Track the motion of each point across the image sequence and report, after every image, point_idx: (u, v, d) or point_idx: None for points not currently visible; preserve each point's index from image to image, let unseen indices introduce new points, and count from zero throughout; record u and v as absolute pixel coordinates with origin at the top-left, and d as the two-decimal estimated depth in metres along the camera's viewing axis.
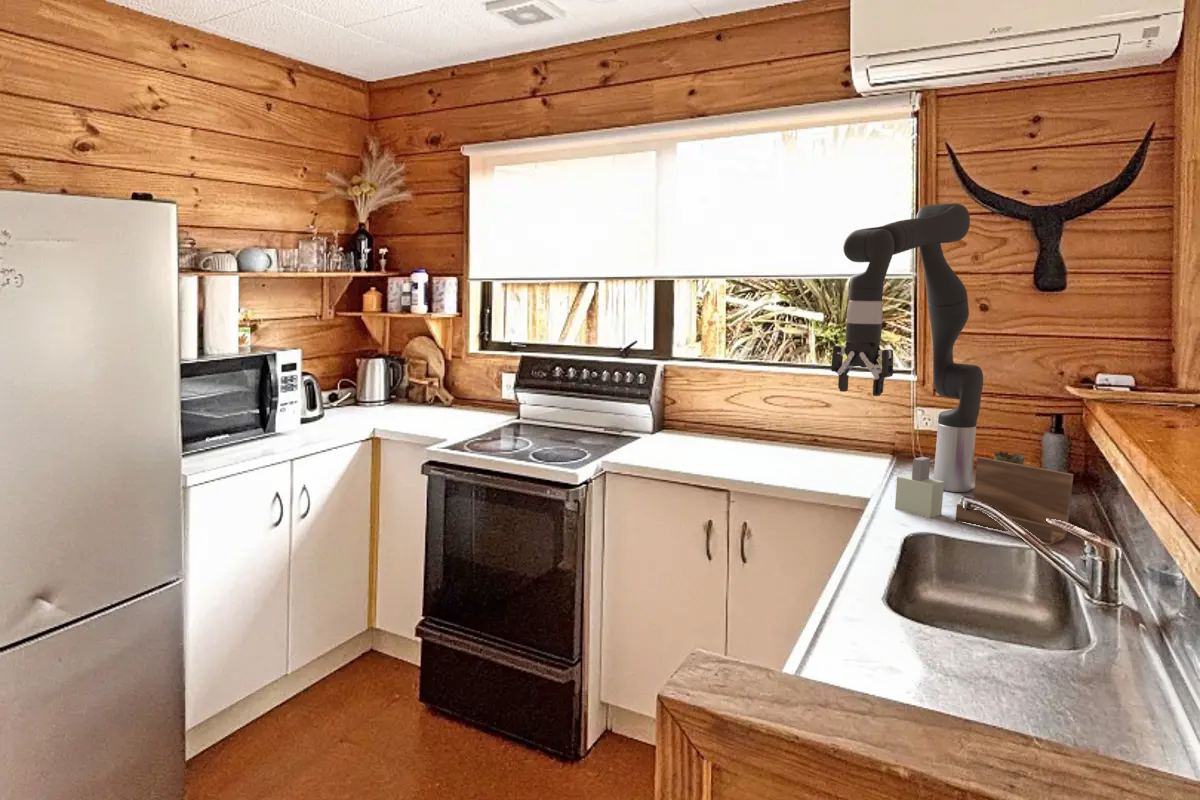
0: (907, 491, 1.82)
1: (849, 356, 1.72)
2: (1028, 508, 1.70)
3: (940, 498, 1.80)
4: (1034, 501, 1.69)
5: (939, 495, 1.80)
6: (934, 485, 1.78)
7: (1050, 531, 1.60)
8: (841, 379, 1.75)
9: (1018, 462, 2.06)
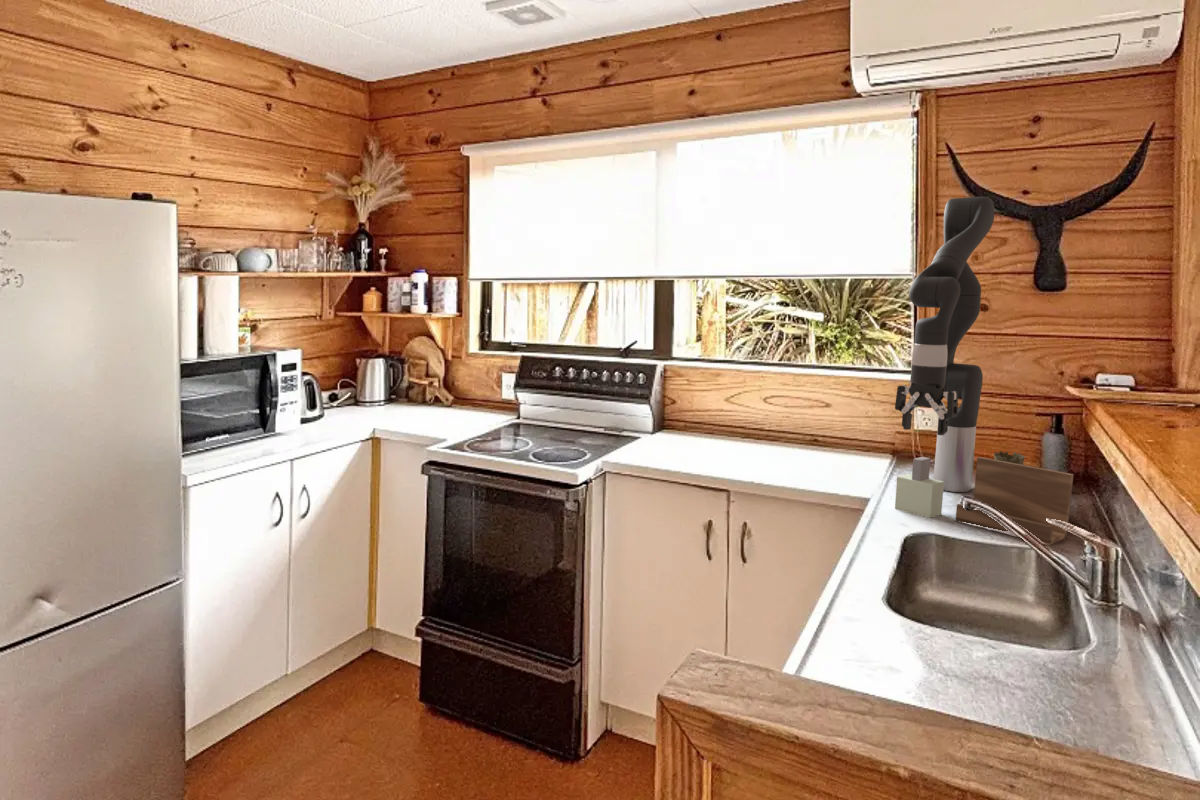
0: (907, 491, 1.82)
1: (914, 397, 1.79)
2: (1028, 508, 1.70)
3: (940, 498, 1.80)
4: (1034, 501, 1.69)
5: (939, 495, 1.80)
6: (934, 485, 1.78)
7: (1050, 531, 1.60)
8: (905, 418, 1.83)
9: (1018, 462, 2.06)
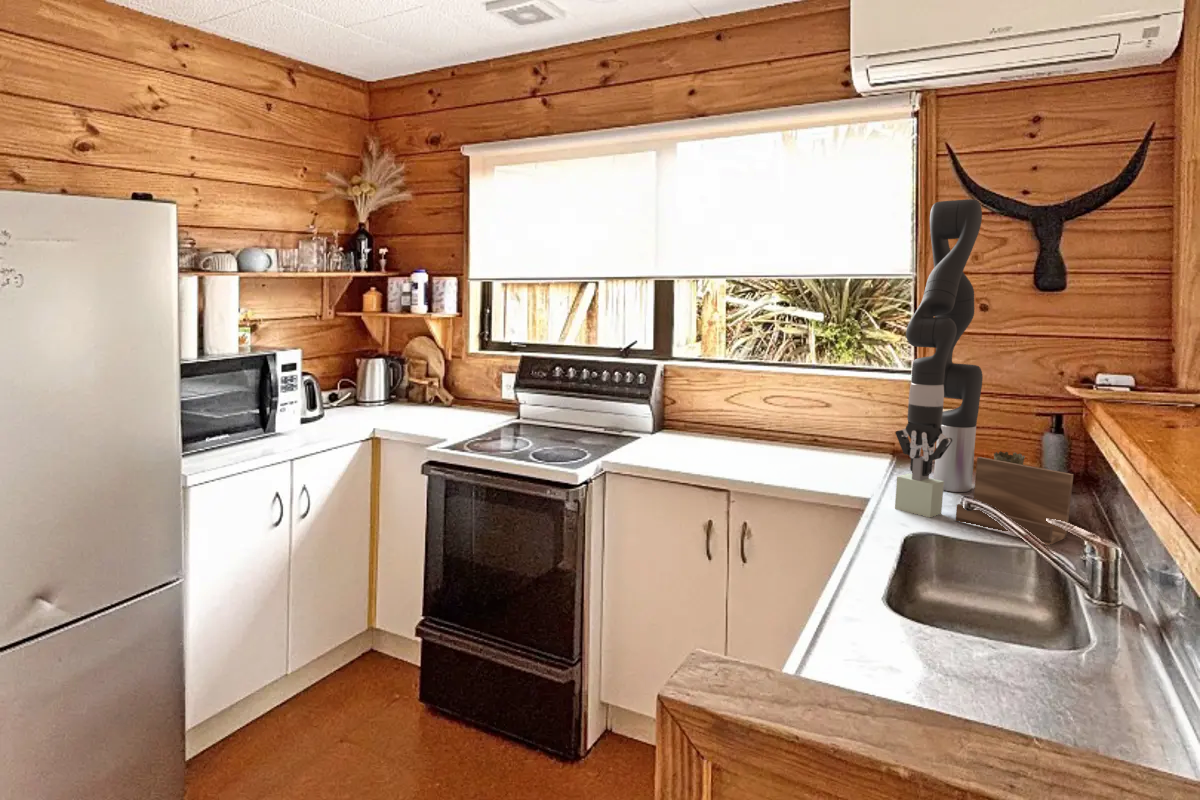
0: (907, 491, 1.82)
1: (913, 436, 1.80)
2: (1028, 508, 1.70)
3: (940, 498, 1.80)
4: (1034, 501, 1.69)
5: (939, 495, 1.80)
6: (934, 485, 1.78)
7: (1050, 531, 1.60)
8: None
9: (1018, 462, 2.06)
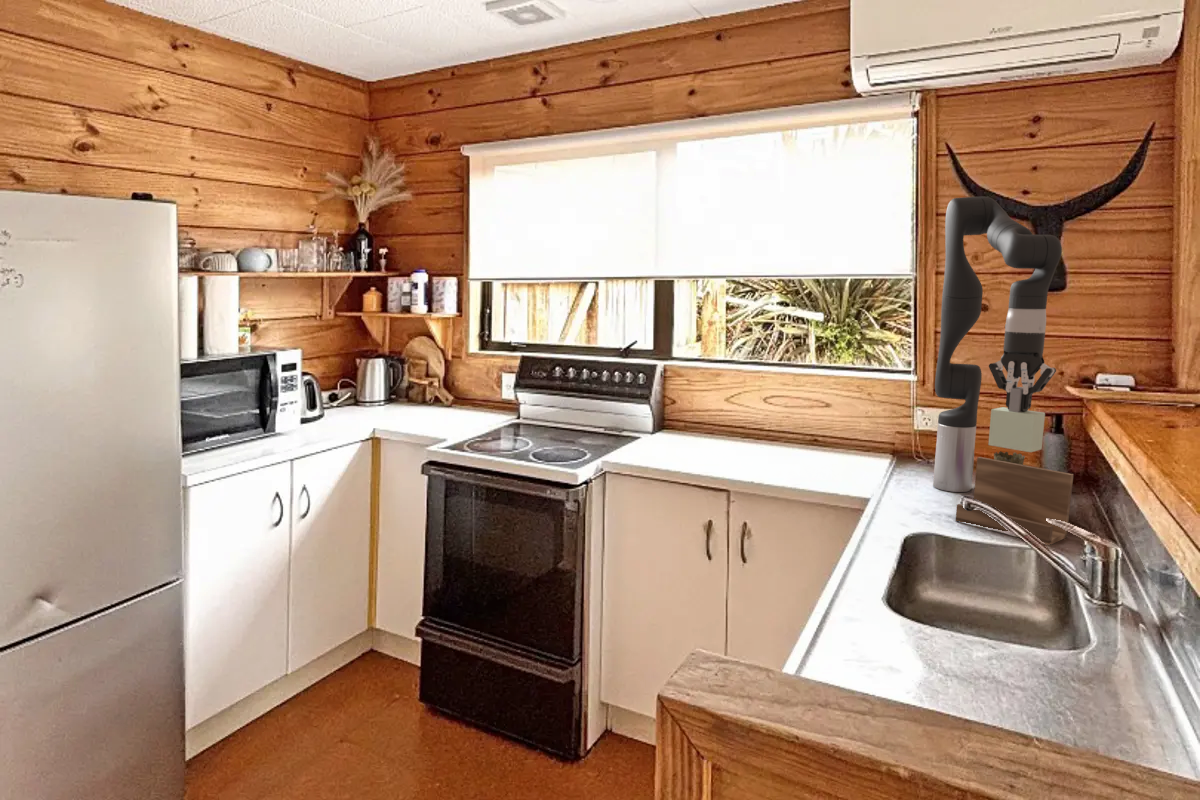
0: (1003, 424, 1.66)
1: (1010, 368, 1.64)
2: (1028, 508, 1.70)
3: (1041, 431, 1.64)
4: (1034, 501, 1.69)
5: (1040, 427, 1.63)
6: (1036, 416, 1.61)
7: (1050, 531, 1.60)
8: None
9: (1018, 462, 2.06)
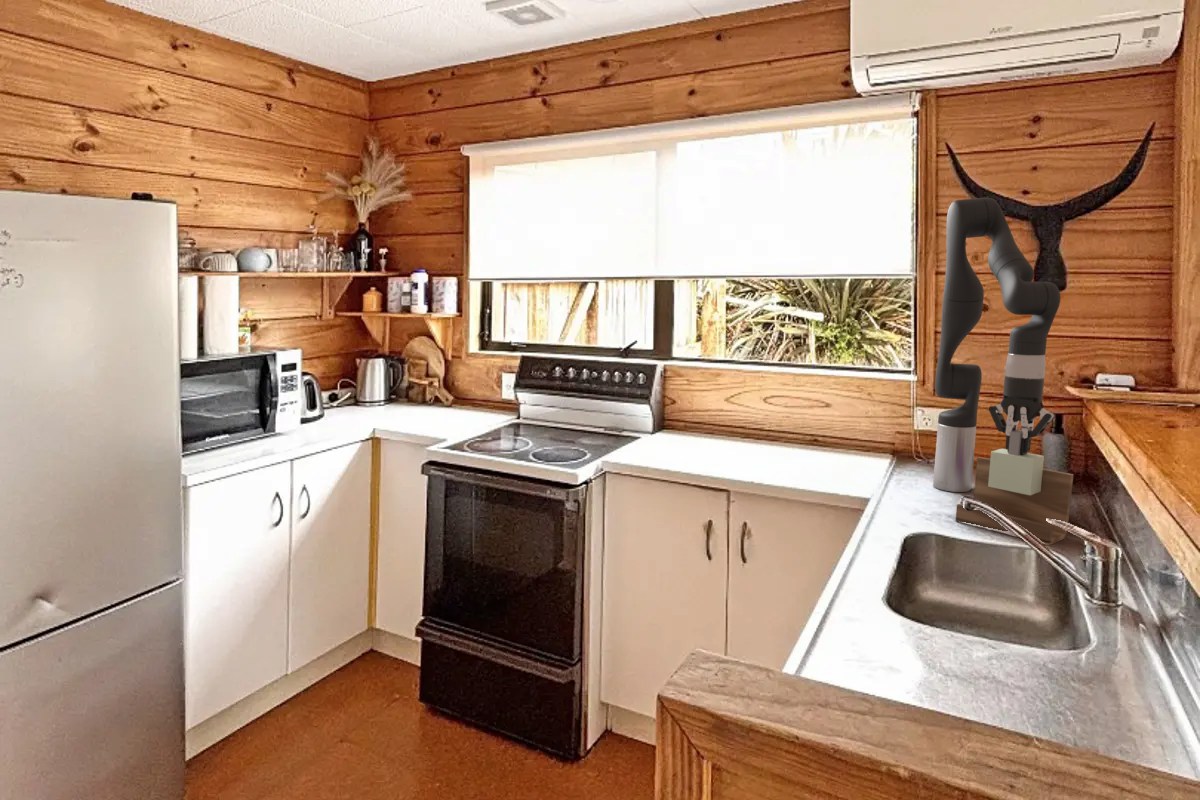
0: (1003, 466, 1.68)
1: (1010, 412, 1.67)
2: (1028, 508, 1.70)
3: (1040, 474, 1.66)
4: (1034, 501, 1.69)
5: (1039, 471, 1.66)
6: (1035, 459, 1.64)
7: (1050, 531, 1.60)
8: None
9: None
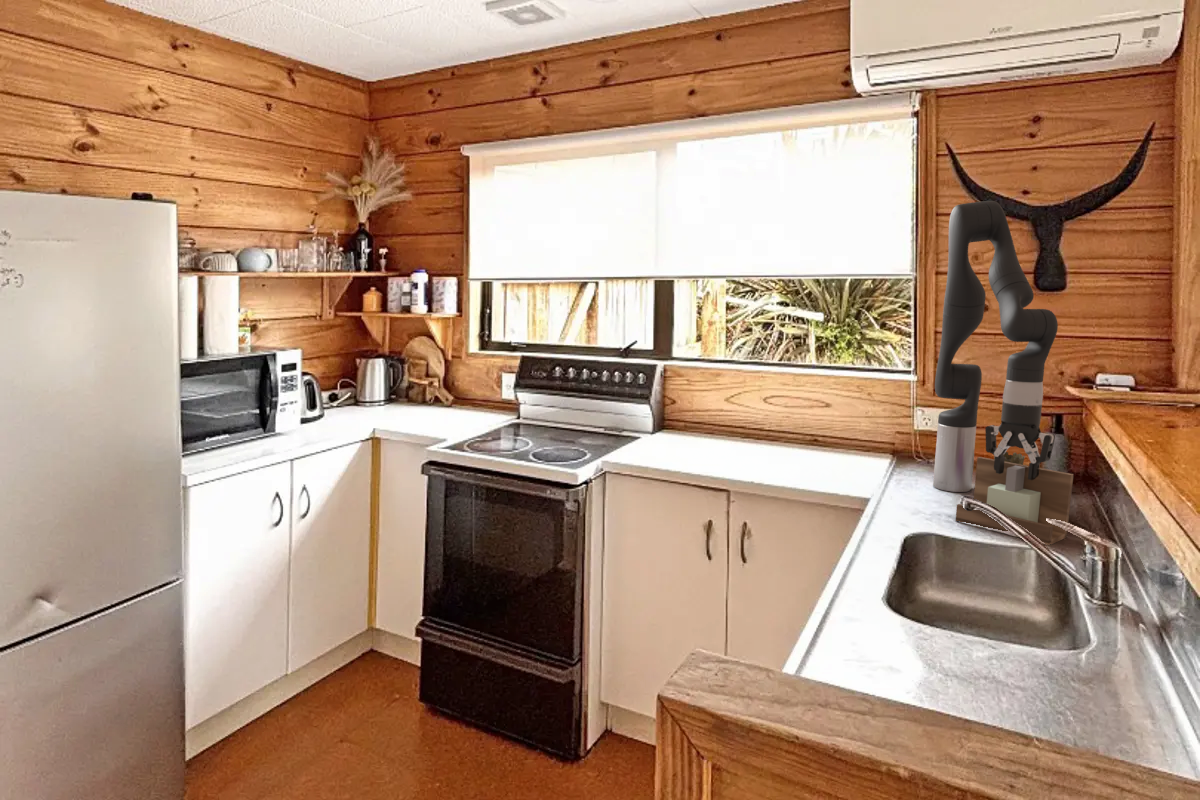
0: (999, 502, 1.70)
1: (1006, 437, 1.68)
2: None
3: (1037, 510, 1.67)
4: None
5: (1036, 507, 1.67)
6: (1031, 496, 1.65)
7: (1050, 531, 1.60)
8: (998, 461, 1.70)
9: (1018, 462, 2.06)
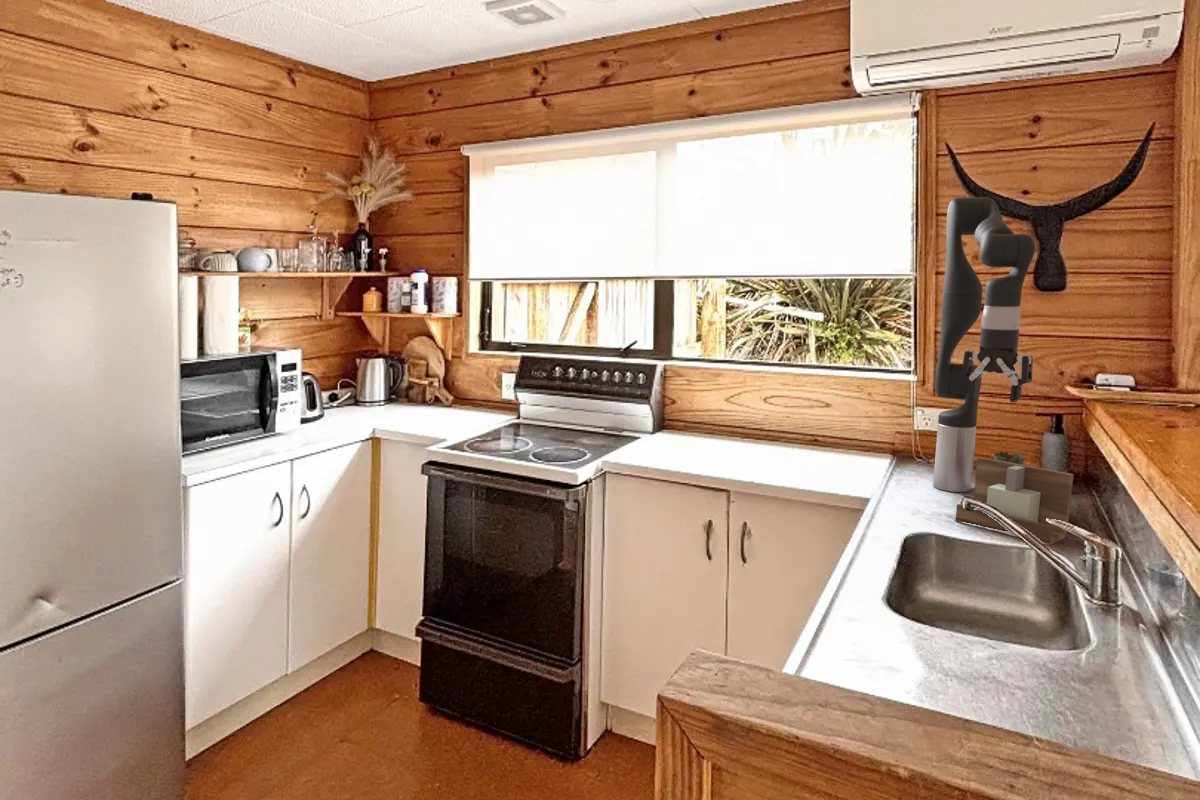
0: (999, 502, 1.70)
1: (984, 362, 1.70)
2: None
3: (1037, 510, 1.67)
4: None
5: (1036, 507, 1.67)
6: (1031, 496, 1.65)
7: (1050, 531, 1.60)
8: (973, 385, 1.73)
9: (1018, 462, 2.06)
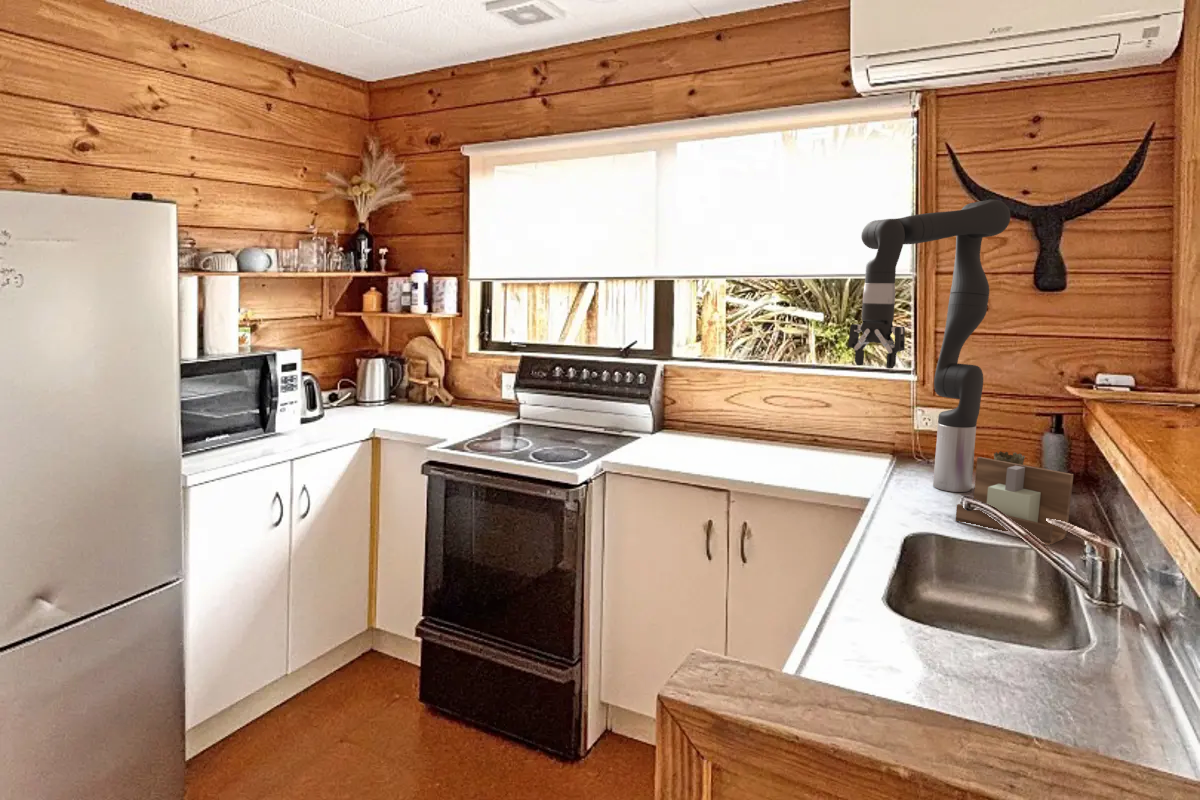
0: (999, 502, 1.70)
1: (865, 333, 1.92)
2: None
3: (1037, 510, 1.67)
4: None
5: (1036, 507, 1.67)
6: (1031, 496, 1.65)
7: (1050, 531, 1.60)
8: (857, 354, 1.95)
9: (1018, 462, 2.06)
